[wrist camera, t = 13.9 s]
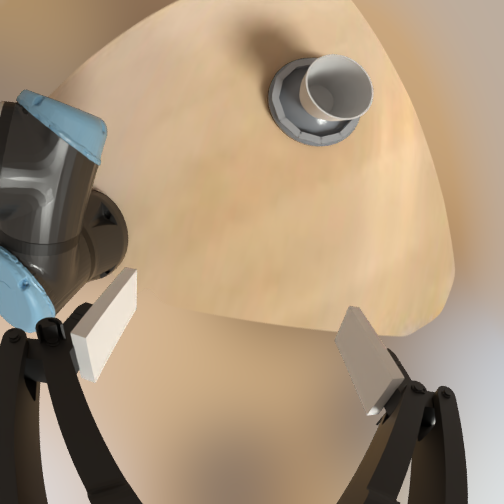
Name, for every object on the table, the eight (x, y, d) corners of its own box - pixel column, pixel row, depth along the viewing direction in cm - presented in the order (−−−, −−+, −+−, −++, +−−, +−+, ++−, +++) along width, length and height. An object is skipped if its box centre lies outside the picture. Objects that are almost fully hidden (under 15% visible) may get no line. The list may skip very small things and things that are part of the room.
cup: (353, 113, 35) (384, 104, 25) (308, 136, 36) (330, 131, 27) (325, 67, 32) (349, 46, 23) (279, 89, 33) (291, 69, 24)
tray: (258, 133, 37) (259, 132, 35) (278, 50, 32) (280, 45, 30) (348, 157, 38) (353, 157, 36) (364, 77, 34) (370, 74, 32)
